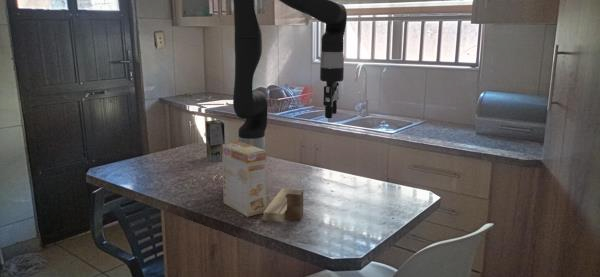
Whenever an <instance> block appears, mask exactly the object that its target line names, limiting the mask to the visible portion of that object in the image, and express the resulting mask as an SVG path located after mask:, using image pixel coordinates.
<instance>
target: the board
mask: <svg viewBox="0 0 600 277" xmlns="http://www.w3.org/2000/svg"><path fill="white" fill-rule="evenodd" d="M290 189H292V190H300V189H297V188H296V189H295V188H284V187H282V188H280V190H279V192H278V193H277V194H276V196H275V197H274V198H273V200H272V201H271V202H270V203H269V204H268V206H266V210H265V211H264V212H263V213H262V214H263V216H262V217H263V221H267V222H268V221H270V222H280V223H284V222H285V220H287V198H286V197H285V195H287V193H288V192H289V190H290Z"/></svg>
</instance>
